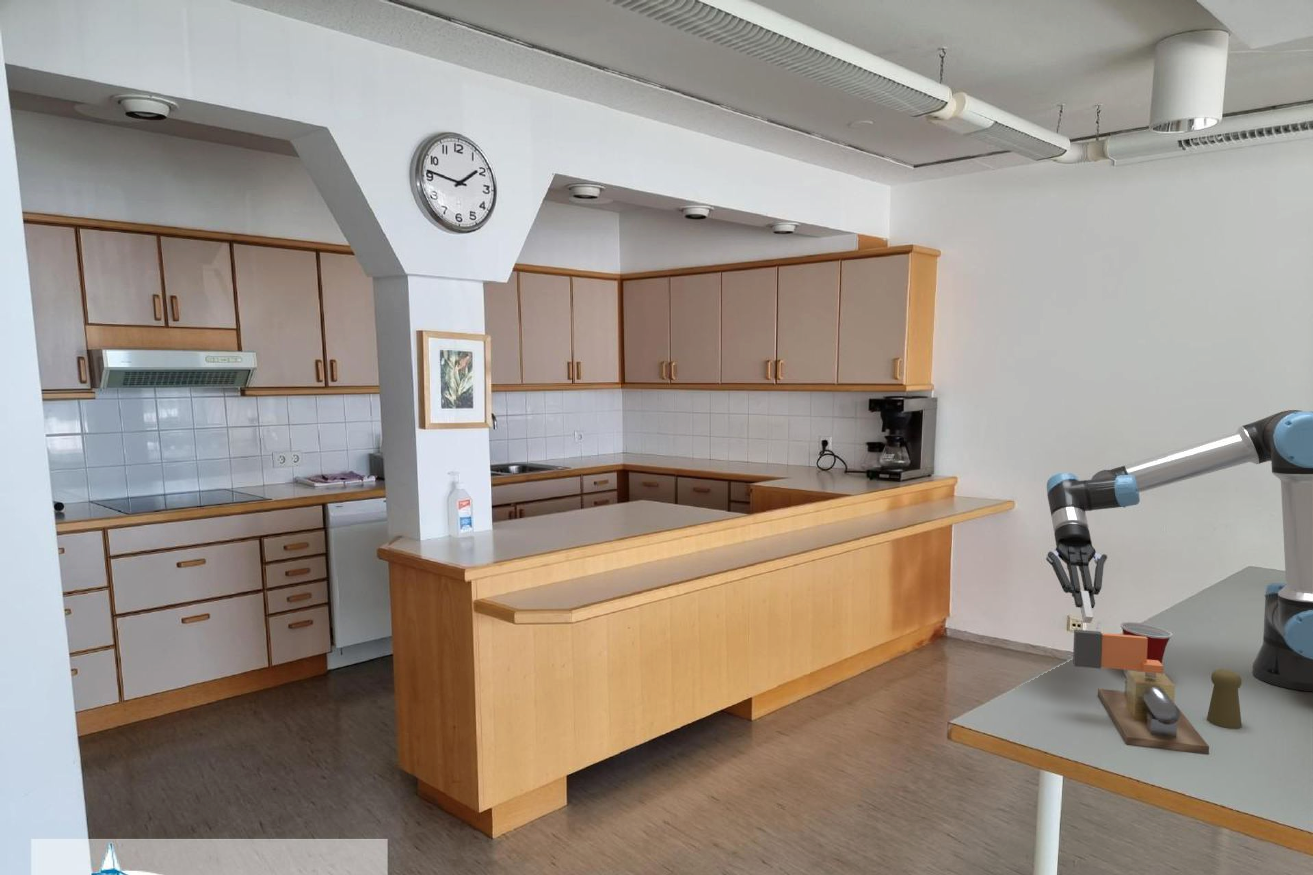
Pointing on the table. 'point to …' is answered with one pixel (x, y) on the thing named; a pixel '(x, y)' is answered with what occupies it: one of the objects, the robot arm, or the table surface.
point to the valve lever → (1113, 652)
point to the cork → (1225, 699)
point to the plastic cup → (1149, 638)
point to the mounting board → (1137, 729)
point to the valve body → (1152, 702)
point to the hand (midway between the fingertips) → (1088, 619)
